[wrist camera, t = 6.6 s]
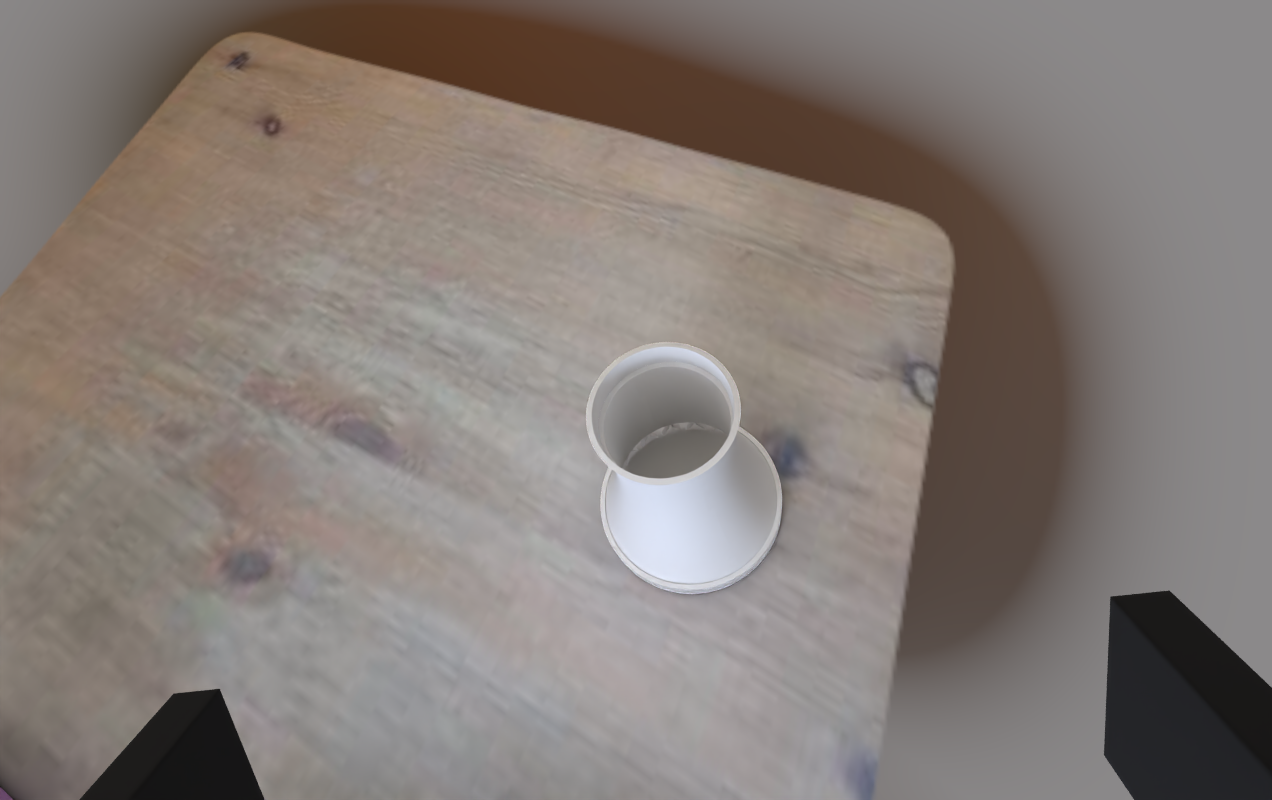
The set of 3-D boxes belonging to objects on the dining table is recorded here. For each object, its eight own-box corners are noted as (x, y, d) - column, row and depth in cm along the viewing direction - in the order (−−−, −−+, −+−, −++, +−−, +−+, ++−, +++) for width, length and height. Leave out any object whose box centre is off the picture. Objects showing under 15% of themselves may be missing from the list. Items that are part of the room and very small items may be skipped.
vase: (756, 617, 31) (750, 559, 22) (580, 565, 33) (509, 492, 24) (800, 445, 34) (810, 330, 25) (635, 406, 36) (589, 287, 27)
